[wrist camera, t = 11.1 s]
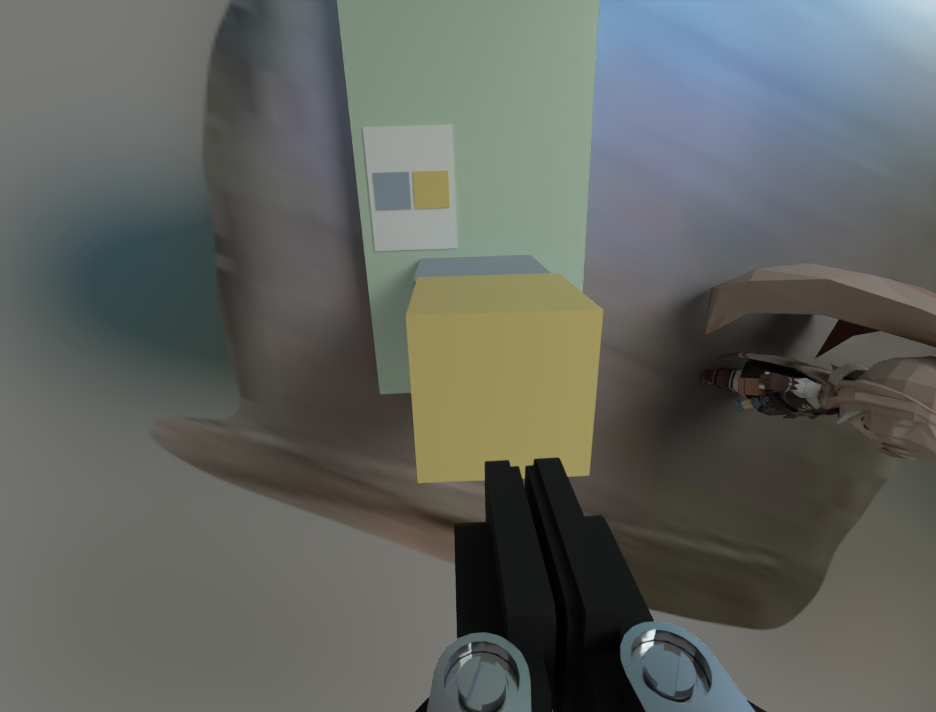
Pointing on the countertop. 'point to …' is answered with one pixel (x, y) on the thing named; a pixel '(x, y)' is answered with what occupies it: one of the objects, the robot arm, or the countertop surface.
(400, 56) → the board
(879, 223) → the countertop surface
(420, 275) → the base brick
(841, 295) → the toy
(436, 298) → the brick
